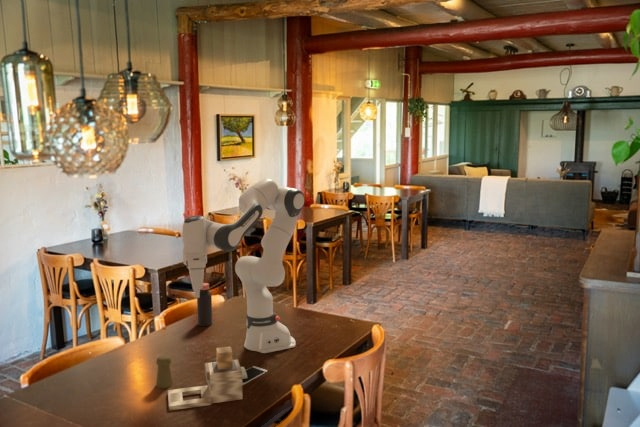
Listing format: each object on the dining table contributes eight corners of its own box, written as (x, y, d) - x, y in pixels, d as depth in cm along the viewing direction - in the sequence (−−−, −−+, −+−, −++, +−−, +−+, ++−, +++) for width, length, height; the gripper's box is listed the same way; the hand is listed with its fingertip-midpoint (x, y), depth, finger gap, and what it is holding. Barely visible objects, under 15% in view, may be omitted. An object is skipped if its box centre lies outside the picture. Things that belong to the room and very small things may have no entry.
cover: (244, 369, 201) (243, 358, 200) (247, 378, 194) (247, 367, 193) (205, 373, 197) (204, 363, 196) (207, 383, 190) (206, 372, 189)
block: (230, 362, 198) (230, 346, 197) (232, 368, 193) (232, 351, 192) (216, 363, 196) (216, 348, 195) (218, 369, 192) (217, 353, 191)
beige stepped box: (237, 385, 204) (237, 357, 202) (243, 400, 192) (242, 371, 190) (168, 394, 196) (166, 365, 195) (169, 410, 185) (167, 380, 183)
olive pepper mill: (174, 380, 207) (173, 353, 205) (171, 388, 201) (169, 359, 199) (158, 380, 207) (157, 353, 205) (154, 388, 201) (153, 360, 199)
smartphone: (268, 370, 216) (242, 384, 203) (268, 371, 216) (242, 386, 203) (253, 365, 220) (227, 379, 208) (253, 367, 220) (227, 381, 208)
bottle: (200, 321, 270) (199, 282, 267) (214, 322, 269) (213, 282, 266) (195, 326, 263) (194, 285, 260) (209, 327, 262) (208, 286, 259)
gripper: (185, 253, 218) (186, 286, 220) (188, 265, 198) (189, 302, 201) (201, 252, 220) (202, 285, 222) (205, 264, 200) (206, 300, 202)
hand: (196, 293), depth 211 cm, fingers open, 8 cm apart
